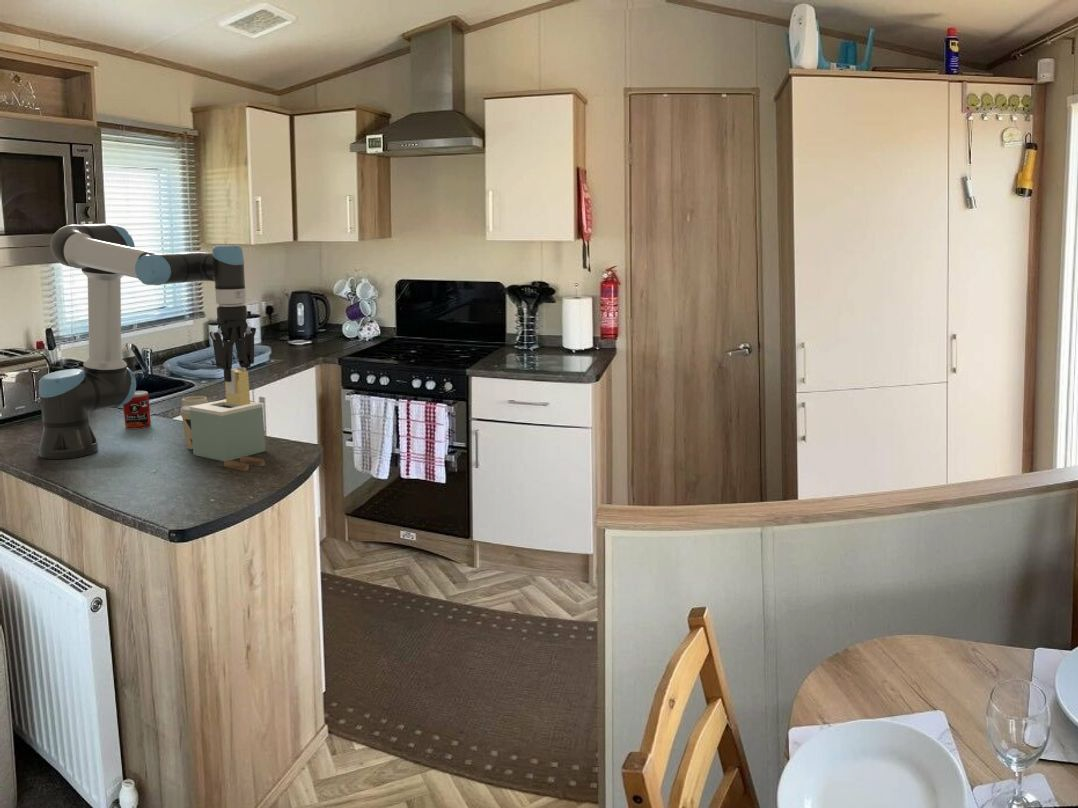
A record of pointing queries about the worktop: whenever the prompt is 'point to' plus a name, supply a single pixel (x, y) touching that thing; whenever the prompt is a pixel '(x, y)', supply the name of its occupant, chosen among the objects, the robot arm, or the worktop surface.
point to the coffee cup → (187, 425)
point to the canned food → (137, 411)
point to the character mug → (193, 401)
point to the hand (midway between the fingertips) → (237, 392)
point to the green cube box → (227, 430)
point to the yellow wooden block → (239, 389)
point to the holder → (244, 463)
